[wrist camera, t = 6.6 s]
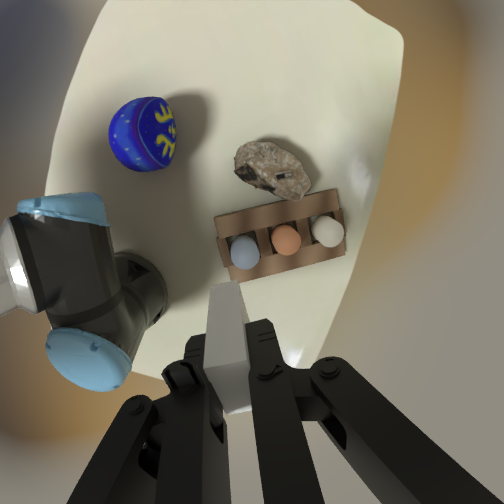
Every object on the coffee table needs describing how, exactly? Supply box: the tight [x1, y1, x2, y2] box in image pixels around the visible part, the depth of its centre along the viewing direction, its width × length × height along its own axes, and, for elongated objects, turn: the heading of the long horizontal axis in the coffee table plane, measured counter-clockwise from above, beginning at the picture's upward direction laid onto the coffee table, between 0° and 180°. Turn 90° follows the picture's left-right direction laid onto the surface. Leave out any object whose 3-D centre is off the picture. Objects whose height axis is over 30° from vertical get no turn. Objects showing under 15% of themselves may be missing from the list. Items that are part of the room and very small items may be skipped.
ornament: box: [108, 97, 176, 172], centre depth 34 cm, size 11×9×15 cm
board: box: [214, 189, 346, 283], centre depth 47 cm, size 22×12×2 cm, turn 103°
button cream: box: [311, 216, 344, 247], centre depth 45 cm, size 4×4×4 cm
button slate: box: [231, 235, 260, 269], centre depth 45 cm, size 4×4×4 cm
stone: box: [234, 141, 311, 201], centre depth 41 cm, size 7×12×7 cm, turn 70°
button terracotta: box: [270, 223, 301, 255], centre depth 46 cm, size 4×4×4 cm
